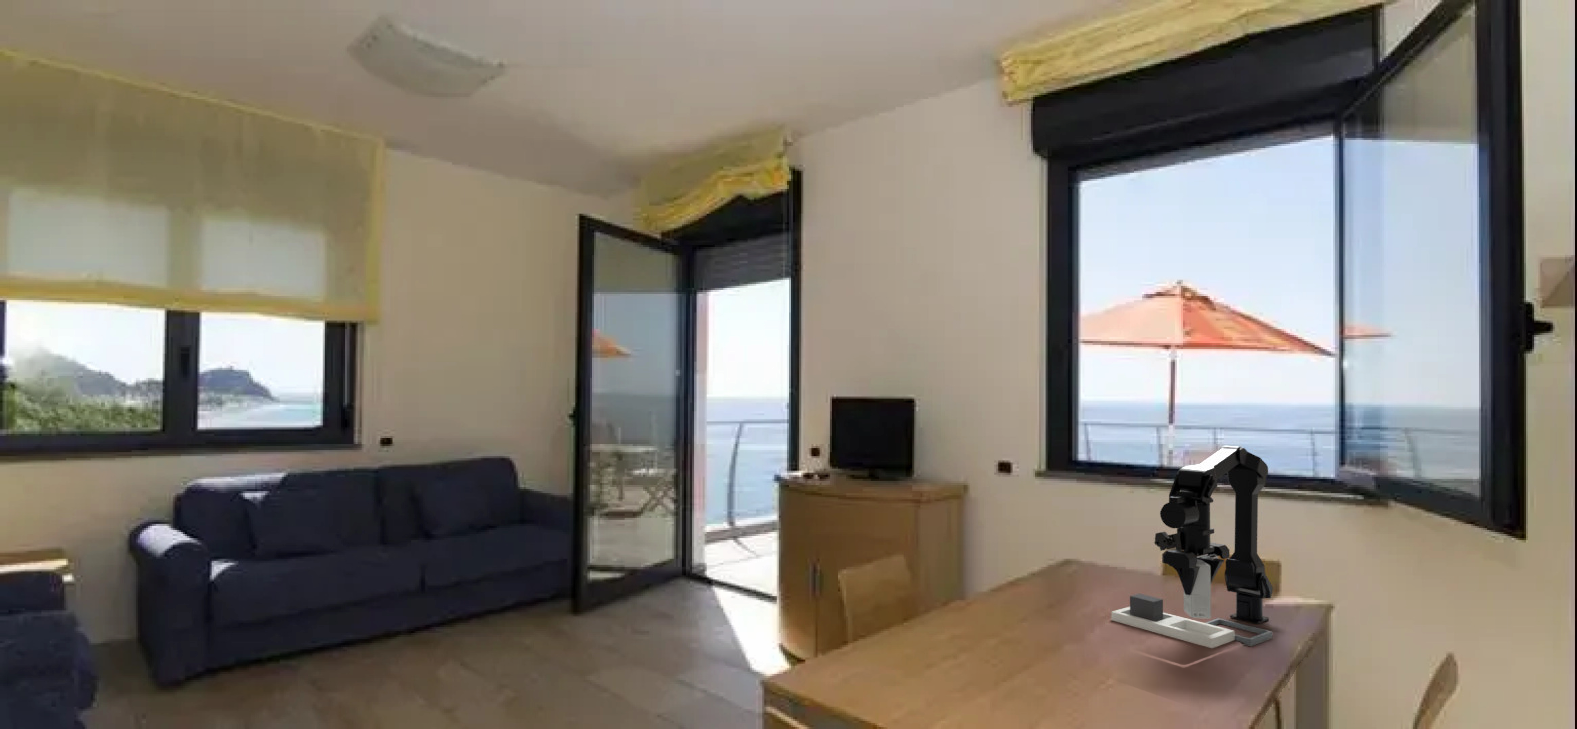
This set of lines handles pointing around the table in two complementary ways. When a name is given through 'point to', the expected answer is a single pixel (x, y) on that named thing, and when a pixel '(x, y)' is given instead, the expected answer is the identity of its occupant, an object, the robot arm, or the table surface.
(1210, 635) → the divided desk organizer
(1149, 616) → the dark gray rectangular block
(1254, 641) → the gray rectangular frame
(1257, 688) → the table surface
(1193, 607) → the skincare box
